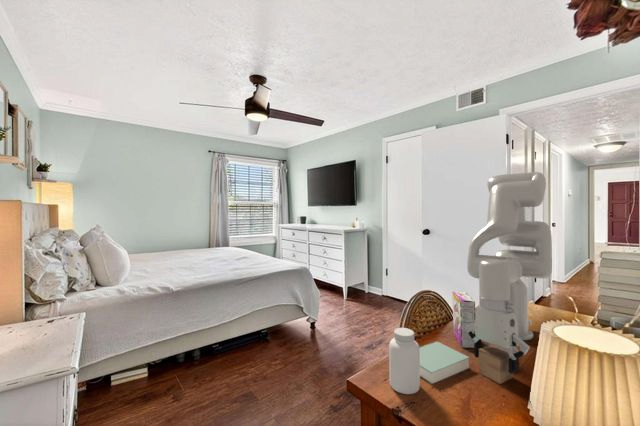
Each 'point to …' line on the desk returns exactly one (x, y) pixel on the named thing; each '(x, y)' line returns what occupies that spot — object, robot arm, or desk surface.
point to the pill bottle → (404, 362)
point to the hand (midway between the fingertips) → (495, 363)
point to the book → (440, 362)
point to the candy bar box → (463, 318)
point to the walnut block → (494, 363)
